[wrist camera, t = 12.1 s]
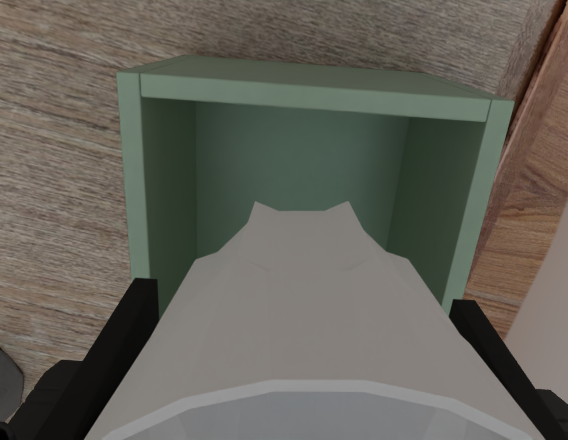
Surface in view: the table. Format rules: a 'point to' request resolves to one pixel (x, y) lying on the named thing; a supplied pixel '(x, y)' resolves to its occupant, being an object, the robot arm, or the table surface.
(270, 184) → the green box
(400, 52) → the table surface
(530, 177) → the table surface
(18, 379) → the coffeepot
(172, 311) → the cup
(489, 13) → the table surface
